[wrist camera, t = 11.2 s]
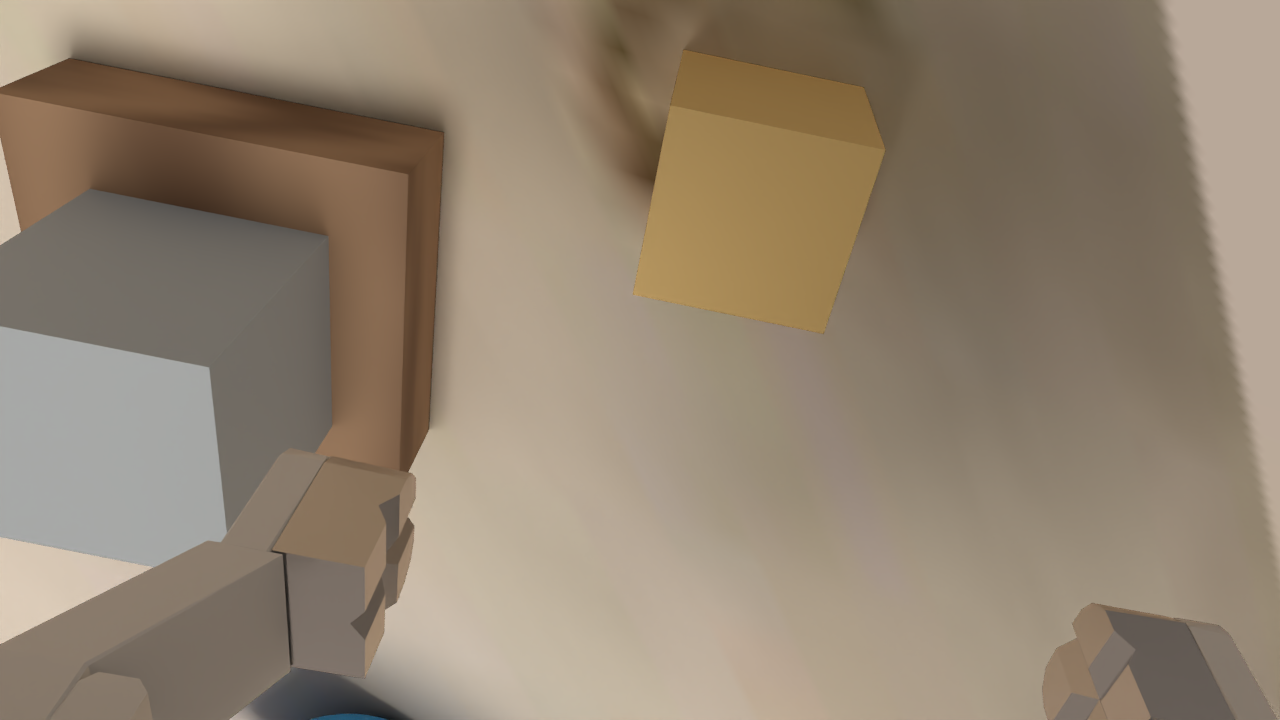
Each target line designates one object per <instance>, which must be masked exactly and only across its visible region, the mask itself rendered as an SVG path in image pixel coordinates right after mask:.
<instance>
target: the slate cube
mask: <svg viewBox="0 0 1280 720" xmlns="http://www.w3.org/2000/svg"><path fill="white" fill-rule="evenodd" d="M331 427H332V391H331V340H330V289H329V238H328V236H326V235H321V234H316V233H311V232H306V231H301V230H295V229H290V228H285V227H280V226H275V225H270V224H265V223H260V222H255V221H250V220H245V219H240V218H235V217H230V216H225V215H220V214H215V213H210V212H205V211H200V210H195V209H190V208H184V207H179V206H174V205H169V204H164V203H159V202H154V201H149V200H144V199H139V198H134V197H129V196H124V195H119V194H114V193H109V192H104V191H99V190H94V189H88V190H87V191H85V192H84V193H82V194H81V195H79V196H77V197H76V198H74V199H73V200H71V201H70V202H68V203H66V204H65V205H63V206H62V207H60V208H58V209H57V210H55V211H54V212H52V213H51V214H49V215H47V216H46V217H44V218H43V219H41V220H40V221H38V222H36V223H35V224H33V225H32V226H30V227H28V228H27V229H25V230H24V231H22V232H21V233H19V234H17V235H16V236H14V237H13V238H11V239H10V240H8V241H6V242H5V243H3V244H2V245H0V537H3V538H8V539H13V540H18V541H23V542H28V543H33V544H38V545H43V546H48V547H54V548H59V549H64V550H69V551H74V552H79V553H84V554H89V555H94V556H99V557H105V558H110V559H115V560H120V561H125V562H130V563H135V564H140V565H145V566H150V567H155V566H157V565H159V564H161V563H163V562H165V561H167V560H169V559H171V558H173V557H175V556H177V555H179V554H181V553H183V552H185V551H187V550H189V549H191V548H193V547H195V546H197V545H199V544H201V543H203V542H205V541H207V540H209V541H215V542H221V541H222V540H223V538H224V537H225V535H226V534H227V532H228V531H229V529H230V528H231V526H232V525H233V523H234V522H235V520H236V519H237V517H238V516H239V514H240V513H241V511H242V510H243V508H244V507H245V506H246V504H247V503H248V501H249V500H250V498H251V497H252V495H253V494H254V492H255V491H256V489H257V488H258V486H259V485H260V483H261V482H262V480H263V479H264V477H265V476H266V474H267V473H268V471H269V470H270V468H271V467H272V465H273V464H274V463H275V461H276V460H277V458H278V457H279V455H281V454H282V453H283V452H285V451H286V450H288V449H289V448H293V449H298V450H302V451H307V452H311V453H315V452H316V451H317V449H318V448H319V446H320V444H321V443H322V441H323V440H324V438H325V437H326V435H327V434H328V432H329V430H330V429H331Z"/></svg>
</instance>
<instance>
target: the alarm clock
mask: <svg viewBox="0 0 1280 720" xmlns="http://www.w3.org/2000/svg"><path fill="white" fill-rule="evenodd" d="M310 720H388V719H385V718H381V717H376V716H371V715H363V714H335V715H326V716H322V717H317V718H313V719H310Z"/></svg>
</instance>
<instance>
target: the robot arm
mask: <svg viewBox="0 0 1280 720" xmlns="http://www.w3.org/2000/svg"><path fill="white" fill-rule="evenodd" d="M415 499H416V477H415V476H414V475H413V474H412V473H409V472H404V471H399V470H395V469H390V468H385V467H381V466H376V465H371V464H367V463H362V462H357V461H353V460H348V459H344V458H339V457H334V456H331V457H329V456H325V455H320V454H316V453H311V452H307V451H302V450H298V449H293V448H289V449H288V450H286V451H285V452H283V453H282V454H281V455H279V457H278V458H277V460H276V461H275V463H274V464H273V465H272V467H271V468H270V470H269V471H268V473H267V474H266V476H265V477H264V479H263V480H262V482H261V483H260V485H259V486H258V488H257V489H256V491H255V492H254V494H253V495H252V497H251V498H250V500H249V501H248V503H247V504H246V506H245V507H244V508H243V510H242V511H241V513H240V514H239V516H238V517H237V519H236V520H235V522H234V523H233V525H232V526H231V528H230V529H229V531H228V532H227V534H226V535H225V537H224V538H223V540H222V541H221V542H215V541H209V540H207V541H205V542H203V543H201V544H199V545H197V546H195V547H193V548H191V549H189V550H187V551H185V552H183V553H181V554H179V555H177V556H175V557H173V558H171V559H169V560H167V561H165V562H163V563H161V564H159V565H157V566H155V567H153V568H151V569H150V570H148V571H146V572H144V573H142V574H140V575H138V576H136V577H134V578H132V579H130V580H128V581H126V582H124V583H122V584H120V585H118V586H116V587H114V588H112V589H110V590H108V591H106V592H104V593H102V594H100V595H98V596H96V597H94V598H92V599H90V600H88V601H86V602H84V603H82V604H80V605H78V606H76V607H74V608H72V609H70V610H68V611H66V612H64V613H62V614H60V615H58V616H56V617H54V618H52V619H50V620H48V621H46V622H44V623H42V624H40V625H38V626H36V627H34V628H32V629H30V630H28V631H26V632H24V633H22V634H20V635H18V636H16V637H14V638H12V639H10V640H8V641H6V642H4V643H2V644H0V720H229V719H230V718H231V717H233V716H234V715H235V714H237V713H238V712H239V711H240V710H242V709H243V708H244V707H245V706H247V705H248V704H249V703H251V702H252V701H253V700H254V699H256V698H257V697H258V696H260V695H261V694H262V693H263V692H265V691H266V690H267V689H268V688H270V687H271V686H272V685H274V684H275V683H276V682H277V681H279V680H280V679H281V678H282V677H284V676H285V675H286V674H288V673H289V672H290V667H296V668H302V669H308V670H315V671H321V672H327V673H333V674H339V675H346V676H352V677H358V678H364V679H365V677H366V674H367V672H368V670H369V667H370V665H371V663H372V660H373V658H374V655H375V653H376V651H377V648H378V646H379V644H380V641H381V639H382V637H383V634H384V626H385V609H387V608H389V607H390V606H392V605H393V604H395V603H396V602H397V600H398V598H399V595H400V593H401V590H402V588H403V585H404V582H405V579H406V575H407V572H408V568H409V564H410V561H411V555H412V549H413V542H414V525H413V523H412V522H411V521H410V519H409V518H408V515H409V513H410V510H411V508H412V506H413V503H414V501H415ZM1072 625H1073V628H1074V631H1075V634H1076V637H1077V638H1076V639H1074V640H1072V641H1070V642H1068V643H1066V644H1064V645H1062V646H1060V647H1058V648H1056V650H1055V652H1054V653H1053V655H1052V657H1051V659H1050V661H1049V662H1048V664H1047V666H1046V669H1045V675H1044V681H1043V687H1042V692H1043V703H1044V709H1045V713H1046V716H1047V720H1277V718H1276V716H1275V714H1274V713H1273V711H1272V709H1271V707H1270V705H1269V704H1268V702H1267V700H1266V698H1265V696H1264V695H1263V693H1262V691H1261V689H1260V687H1259V686H1258V684H1257V682H1256V680H1255V678H1254V677H1253V675H1252V673H1251V671H1250V670H1249V668H1248V666H1247V664H1246V662H1245V661H1244V659H1243V657H1242V655H1241V653H1240V652H1239V650H1238V648H1237V646H1236V644H1235V643H1234V641H1233V639H1232V637H1231V636H1230V634H1229V633H1228V632H1226V631H1225V630H1224V629H1223V628H1222V627H1220V626H1219V625H1214V624H1209V623H1203V622H1197V621H1192V620H1186V619H1180V618H1171V617H1167V616H1161V615H1156V614H1150V613H1145V612H1139V611H1134V610H1128V609H1123V608H1117V607H1112V606H1106V605H1101V604H1095V603H1091V604H1089V605H1088V606H1086V607H1085V608H1083V609H1081V611H1080V612H1079V614H1078V615H1077V617H1076V618H1075V620H1074V621H1073V623H1072Z"/></svg>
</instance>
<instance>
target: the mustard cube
mask: <svg viewBox="0 0 1280 720" xmlns="http://www.w3.org/2000/svg"><path fill="white" fill-rule="evenodd" d="M885 151H886V150H885V147H884V144H883V141H882V138H881V135H880V132H879V130H878V127H877V124H876V121H875V118H874V115H873V112H872V109H871V107H870V104H869V101H868V98H867V95H866V92H865V89H864V87H860V86H855V85H850V84H846V83H841V82H836V81H831V80H826V79H822V78H817V77H812V76H807V75H803V74H798V73H793V72H788V71H783V70H779V69H774V68H769V67H764V66H760V65H755V64H750V63H745V62H740V61H736V60H731V59H726V58H721V57H717V56H712V55H707V54H702V53H697V52H693V51H688V50H683V54H682V58H681V62H680V66H679V71H678V75H677V79H676V83H675V87H674V91H673V96H672V100H671V104H670V109H669V114H668V119H667V124H666V129H665V134H664V139H663V144H662V149H661V154H660V159H659V164H658V169H657V174H656V179H655V184H654V190H653V195H652V200H651V205H650V210H649V215H648V220H647V225H646V230H645V235H644V240H643V245H642V250H641V255H640V260H639V265H638V270H637V275H636V280H635V286H634V291H633V295H637V296H642V297H647V298H652V299H657V300H662V301H666V302H671V303H676V304H681V305H686V306H691V307H696V308H700V309H705V310H710V311H715V312H720V313H725V314H730V315H734V316H739V317H744V318H749V319H754V320H759V321H764V322H768V323H773V324H778V325H783V326H788V327H793V328H798V329H802V330H807V331H812V332H817V333H822V334H824V331H825V328H826V325H827V322H828V319H829V316H830V313H831V310H832V307H833V304H834V302H835V299H836V296H837V293H838V290H839V287H840V284H841V281H842V278H843V275H844V272H845V269H846V266H847V263H848V260H849V257H850V254H851V251H852V248H853V245H854V242H855V239H856V236H857V233H858V231H859V228H860V225H861V222H862V219H863V216H864V213H865V210H866V207H867V204H868V201H869V198H870V195H871V192H872V189H873V186H874V183H875V180H876V177H877V174H878V171H879V168H880V165H881V162H882V159H883V157H884V154H885Z"/></svg>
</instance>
